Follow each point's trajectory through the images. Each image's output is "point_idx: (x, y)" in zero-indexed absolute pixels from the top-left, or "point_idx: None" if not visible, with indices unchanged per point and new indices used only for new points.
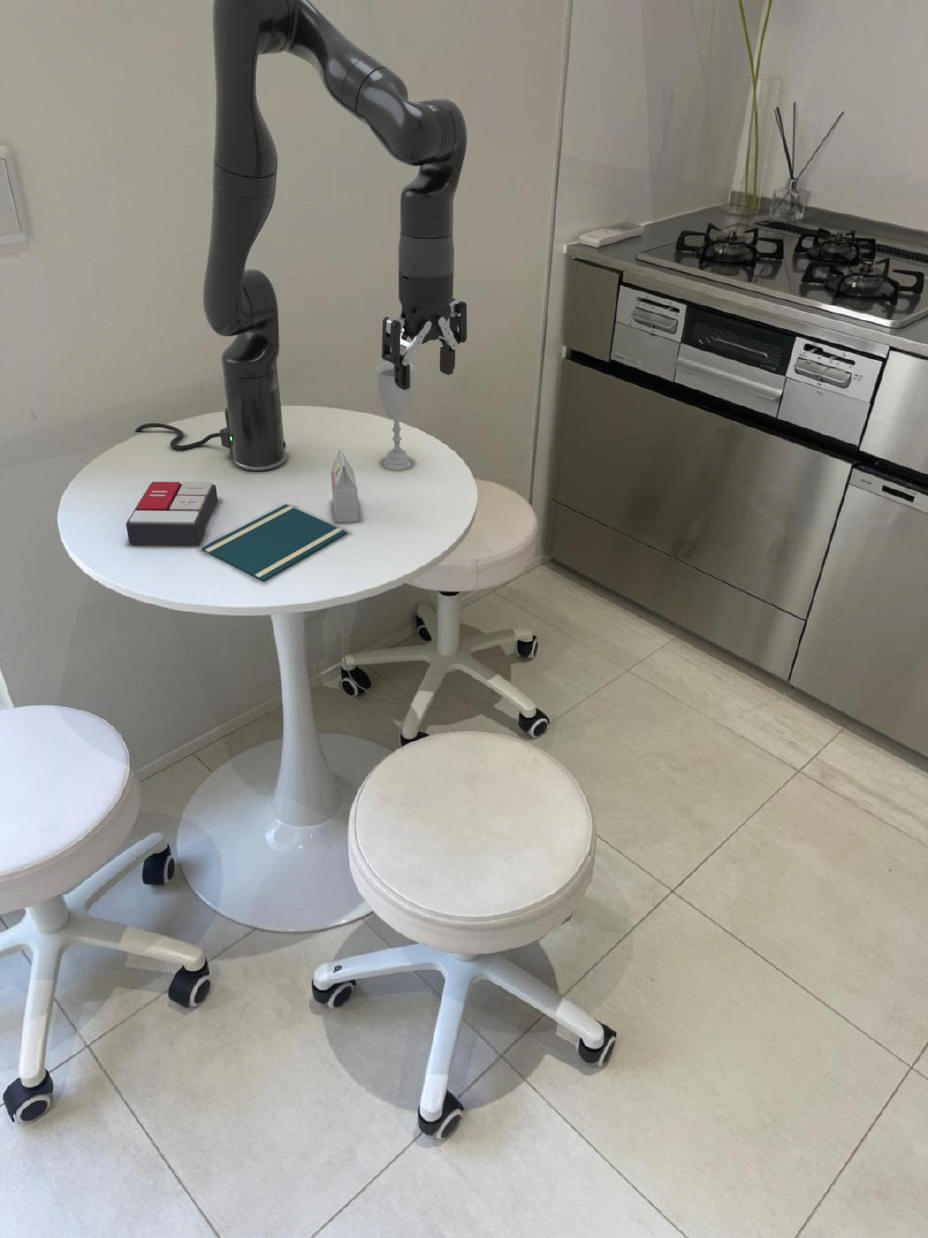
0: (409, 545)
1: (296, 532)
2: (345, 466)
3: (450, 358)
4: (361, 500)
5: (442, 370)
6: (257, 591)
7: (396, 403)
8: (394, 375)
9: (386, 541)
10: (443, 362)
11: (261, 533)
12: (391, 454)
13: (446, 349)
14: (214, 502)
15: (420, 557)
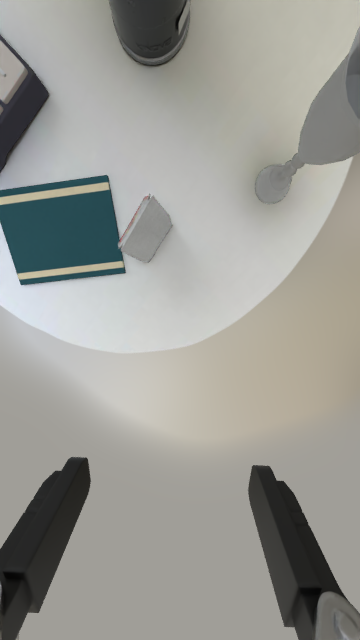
0: (156, 327)
1: (84, 237)
2: (129, 241)
3: (270, 574)
4: (179, 228)
5: (253, 477)
6: (12, 293)
7: (311, 153)
8: (28, 506)
9: (145, 308)
10: (264, 513)
11: (54, 212)
12: (270, 177)
13: (294, 608)
14: (34, 106)
15: (150, 346)
